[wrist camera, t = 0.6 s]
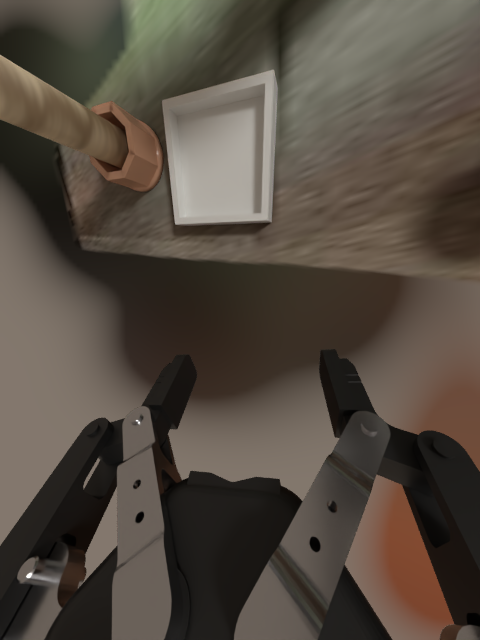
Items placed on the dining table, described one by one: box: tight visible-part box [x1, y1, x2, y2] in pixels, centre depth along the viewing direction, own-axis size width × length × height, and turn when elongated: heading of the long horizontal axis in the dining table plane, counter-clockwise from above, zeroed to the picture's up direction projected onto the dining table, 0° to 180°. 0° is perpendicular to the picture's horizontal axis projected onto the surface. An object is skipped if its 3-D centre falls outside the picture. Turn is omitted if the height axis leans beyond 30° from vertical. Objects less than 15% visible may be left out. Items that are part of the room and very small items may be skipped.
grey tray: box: [162, 70, 278, 226], centre depth 30 cm, size 16×16×3 cm
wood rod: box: [0, 55, 129, 169], centre depth 25 cm, size 5×5×20 cm
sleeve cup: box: [90, 101, 164, 192], centre depth 32 cm, size 10×10×6 cm
